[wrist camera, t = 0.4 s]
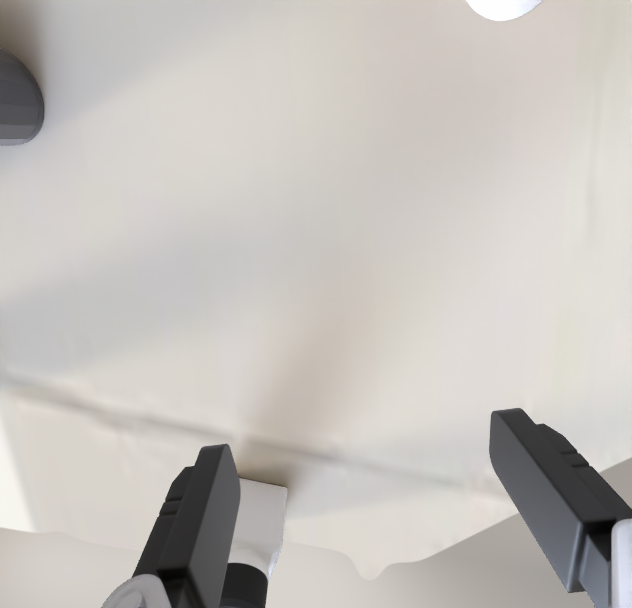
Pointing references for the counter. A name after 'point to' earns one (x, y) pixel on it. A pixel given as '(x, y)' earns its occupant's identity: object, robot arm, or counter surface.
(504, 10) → the champagne flute
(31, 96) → the cup
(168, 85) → the counter surface
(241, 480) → the medicine bottle
